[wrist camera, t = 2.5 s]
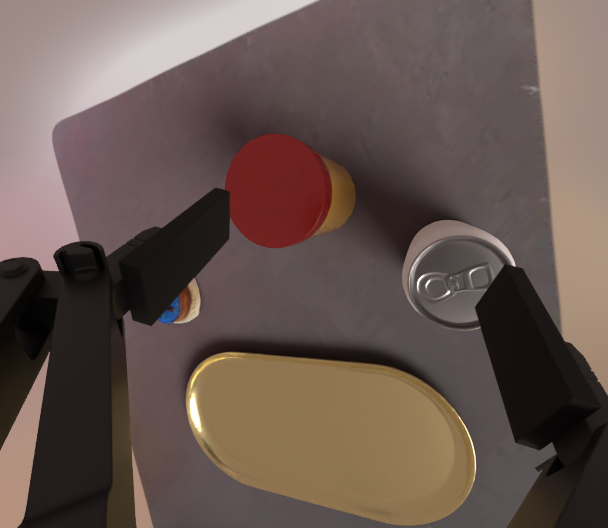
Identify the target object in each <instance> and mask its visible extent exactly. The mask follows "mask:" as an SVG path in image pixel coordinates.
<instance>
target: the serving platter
mask: <svg viewBox="0 0 608 528" xmlns="http://www.w3.org/2000/svg"><path fill="white" fill-rule="evenodd" d="M186 409H187V415H188V419H189V423H190V426H191V429H192V431H193V433H194V436H195V438H196V439H197V441H198V443H199V445H200V446H201V448H202V449H203V451H204V452H205V453H206V455H207V456H208V457H209V458H210V459H211V460H212V462H213V463H214V464H215V465H217V466H218V467H219V468H220V469H221V470H222V471H223V472H225V473H226V474H227V475H229V476H230V477H232V478H234V479H235V480H237V481H239V482H241V483H243V484H246V485H248V486H251V487H255V488H258V489H262V490H266V491H270V492H273V493H277V494H281V495H284V496H288V497H292V498H295V499H299V500H303V501H306V502H310V503H314V504H317V505H321V506H325V507H328V508H332V509H336V510H340V511H343V512H347V513H351V514H354V515H358V516H362V517H365V518H369V519H373V520H376V521H380V522H384V523H389V524H395V525H407V526H410V525H422V524H427V523H431V522H434V521H437V520H440V519H442V518H444V517H446V516H448V515H449V514H451V513H452V512H454V511H455V510H456V509H457V508H458V507H459V506H460V505H461V504H462V503H463V502H464V500H465V499H466V498H467V496H468V494H469V492H470V490H471V488H472V485H473V482H474V478H475V473H476V457H475V450H474V446H473V442H472V439H471V436H470V434H469V432H468V429H467V427H466V425H465V424H464V422H463V420H462V418H461V417H460V415H459V414H458V412H457V411H456V410H455V409H454V407H453V406H452V405H451V404H450V403H449V402H448V401H447V400H446V399H445V398H444V396H442V395H441V394H440V393H439V392H438V391H437V390H435V389H434V388H433V387H431V386H430V385H429V384H427V383H426V382H424V381H423V380H421V379H419V378H418V377H416V376H414V375H412V374H410V373H407V372H405V371H403V370H400V369H397V368H394V367H391V366H387V365H382V364H376V363H365V362H354V361H342V360H331V359H319V358H308V357H296V356H285V355H273V354H262V353H250V352H239V351H227V352H221V353H217V354H214V355H212V356H210V357H208V358H207V359H205V360H204V361H202V362H201V363H200V364H199V365H198V366H197V368H196V369H195V370H194V372H193V373H192V375H191V377H190V380H189V382H188V386H187V391H186Z"/></svg>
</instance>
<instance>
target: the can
mask: <svg viewBox="0 0 608 528" xmlns="http://www.w3.org/2000/svg"><path fill="white" fill-rule="evenodd" d="M504 264H507V265H511V266H515V267H516V265H515V262H514V260H513V258H512V256H511V254H510V252H509V251H508V249H507V248H506V247H505V246H504V245H503V244H502V243H501V242H500V241H499V240H498V239H497V238H495V237H494V236H492V235H491V234H489V233H487V232H485V231H483V230H481V229H478V228H476V227H474V226H471V225H468V224H466V223H463V222H460V221H455V220H441V221H436V222H433V223H431V224H429V225H427V226H425V227H424V228H422V229H421V230H420V231H419V232H418V233H417V234H416V235H415V237H414V238H413V240H412V242H411V244H410V246H409V249H408V252H407V255H406V258H405V261H404V265H403V271H402V282H403V287H404V291H405V294H406V296H407V298H408V300H409V302H410V303H411V305H412V306H413V307H414V308H415V309H416V310H417V311H418V312H419V313H420V314H421V315H422V316H423V317H424V318H426V319H427V320H428V321H430V322H431V323H433V324H435V325H437V326H440V327H442V328H445V329H449V330H456V331H469V330H475V329H479V328H481V327H480V324H479V320H478V317H477V314H476V310H475V306H476V305H477V303H478V302H479V300H480V299H481V297H482V296H483V295H484V293H485V292H486V290H487V289H488V287H489V286H490V285H491V283H492V282H493V280H494V279H495V277H496V276H497V274H498V273H499V272H500V270H501V269H502V267H503V266H504Z"/></svg>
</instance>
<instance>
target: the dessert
mask: <svg viewBox="0 0 608 528" xmlns="http://www.w3.org/2000/svg"><path fill="white" fill-rule="evenodd" d="M200 301H201V300H200V293H199V288H198V285H197V282H196V279H195V278H194V279H193V280H192V281H191V282H190V283H189V285H188V286H187V287H186V288H185V289H184V290H183V291H182V292H181V294H180V295H179V296H178V297H177V298H176V299H175V300H174V301H173V303H172V304H171V305H170V306H169V307H168V308H167V309H166V310H165V312H164V313H163V314H162V315H161V316H160V317H159V318H158V320H159V322H162V323H164V324H165V323H186V322H189V321H191V320H192V319H194V318H195V317H197V316H198V315H199V308H200ZM168 325H169V324H168Z"/></svg>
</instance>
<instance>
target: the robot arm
mask: <svg viewBox="0 0 608 528" xmlns="http://www.w3.org/2000/svg"><path fill="white" fill-rule="evenodd" d="M229 225H230V191H227V190H223V189H219V188H214V189H213V190H212V191H210V192H209V193H208V194H206V195H205V196H204V197H202V198H201V199H200V200H199V201H197V202H196V203H195V204H193V205H192V206H191V207H189V208H188V209H187V210H185V211H184V212H183V213H181V214H180V215H179V216H177V217H176V218H175V219H174V220H172V221H171V222H170V223H168V224H167V225H166V226H164V227H163V228H159V227H153V228H150V229H147V230H144V231H142V232H141V233H139V234H138V235H137V236H135V237H134V239H131V240H130V241H128V242H127V243H126V244H124V245H123V246H121V247H120V248H118V249H117V250H116V251H114V252H113V253H111V254H110V255H109V256H107V257H106V256H105V252H104V249H103V247H102V246H101V245H100V244H98V243H95V242H91V241H80V242H74V243H70V244H67V245H65V246H62V247H61V248H59V249H58V250H57V251H56V252H55V254H54V255H53V257H54V259H55V262H56V264H57V267H58V269H59V271H42V269H41V267H40V264H39V262H38V261H37V260H35V259H33V258H25V257H20V258H12V259H8V260H4V261H2V262H0V450H1V448H2V446H3V443H4V442H5V440H6V438H7V436H8V434H9V432H10V430H11V427H12V426H13V424H14V422H15V420H16V418H17V416H18V414H19V412H20V409H21V408H22V405H23V404H24V402H25V399H26V398H27V395H28V394H29V392H30V390H31V388H32V386H33V384H34V382H35V380H36V378H37V375H38V374H39V372H40V370H41V367H42V365H43V363H44V361H45V359H46V358H47V355H48V353H49V352H50V355H49V363H48V369H47V375H46V382H45V388H44V395H43V402H42V408H41V414H40V421H39V428H38V434H37V441H36V447H35V454H34V460H33V467H32V473H31V480H30V487H29V494H28V500H27V506H26V511H25V516H24V519H23V521H22V523H21V524H20V525H19V526H18V527H17V528H136V519H135V503H134V485H133V468H132V450H131V433H130V416H129V398H128V381H127V363H126V346H125V329H124V320H123V316H124V315H125V314H126V313H127V312H128V311H129V310H130V311H131V315H132V319H133V320H134V321H137V322H140V323H143V324H146V325H149V326H152V325H153V324H154V323H155V322H156V321H157V319H158V318H159V317H160V316H161V315H162V314H163V313H164V312H165V310H166V309H167V308H168V307H169V306H170V305H171V304H172V303H173V301H174V300H175V299H176V298H177V297H178V296H179V295H180V294H181V292H182V291H183V290H184V289H185V288H186V287H187V286H188V285H189V283H190V282H191V281H192V280H193V279H194V278H195V277H196V276H197V274H198V273H199V272H200V271H201V270H202V269H203V268H204V266H205V265H206V264H207V263H208V262H209V261H210V260H211V259H212V257H213V256H214V255H215V254H216V253H217V252H218V251H219V250H220V248H221V247H222V246H223V245H224V244H225V243H226V242H227V241H228V239H229ZM475 310H476V314H477V317H478V320H479V324H480V327H481V330H482V333H483V337H484V340H485V343H486V347H487V350H488V353H489V357H490V360H491V363H492V367H493V370H494V373H495V376H496V380H497V383H498V386H499V390H500V393H501V396H502V400H503V403H504V406H505V410H506V413H507V416H508V419H509V423H510V426H511V429H512V433H513V436H514V439H515V443H518V444H521V445H525V446H528V447H531V448H534V449H537V450H541V449H542V448H544V447H545V446H547V445H548V444H550V443H551V442H553V445H554V447H555V450H556V452H557V454H556V455H555V456H553V457H551V458H550V459H548V460H547V461H545V462H544V463H542V464H541V465H539V466H538V467H536V468H535V469H536V470H537V471H538V472H539V471H540V470H542V469H543V470H542V472H541V474H540V475H539V477H538V478H537V480H536V482H535V483H534V485H533V486H532V488H531V490H530V491H529V493H528V494H527V496H526V498H525V499H524V501H523V503H522V504H521V506H520V507H519V509H518V511H517V512H516V514H515V515H514V517H513V519H512V520H511V522H510V523H509V525H508V527H507V528H608V395H607V394H606V392H605V391H604V389H603V387H602V386H601V384H600V383H599V382H597V380H598V379H597V377H596V376H595V374H594V372H592V371H591V368H590V366H589V364H588V363H587V361H586V359H585V358H584V356H583V355H582V354H581V353H580V352H579V351H578V350H577V349H576V348H575V347H574V346H573V345H572V344H571V343H568V342H565V341H564V340H563V338H562V336H561V334H560V333H559V331H558V329H557V327H556V326H555V324H554V322H553V321H552V319H551V317H550V315H549V314H548V312H547V310H546V308H545V307H544V305H543V303H542V301H541V300H540V298H539V296H538V294H537V293H536V291H535V289H534V288H533V286H532V284H531V282H530V281H529V279H528V277H527V275H526V274H525V272H524V270H523V268H519V267H515V266H511V265H507V264H504V266H503V267H502V269H501V270H500V272H499V273H498V274H497V276H496V277H495V279H494V280H493V282H492V283H491V285H490V286H489V287H488V289H487V290H486V292H485V293H484V295H483V296H482V297H481V299H480V300H479V302H478V303H477V305H476V306H475Z"/></svg>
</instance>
